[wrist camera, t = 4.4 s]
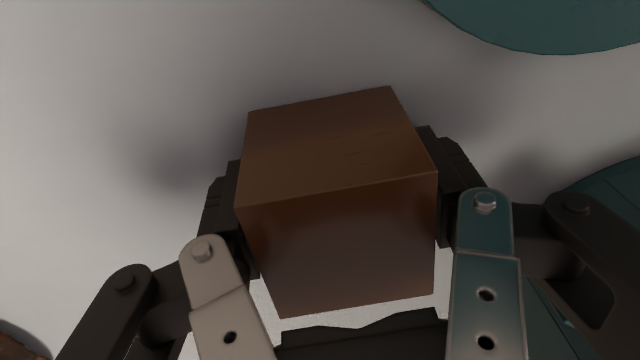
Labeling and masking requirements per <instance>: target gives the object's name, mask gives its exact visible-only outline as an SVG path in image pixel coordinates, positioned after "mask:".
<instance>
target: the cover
mask: <svg viewBox="0 0 640 360" xmlns="http://www.w3.org/2000/svg"><path fill="white" fill-rule="evenodd" d="M424 2H425V3H426V4H427V5H428V6H430V7H431V8H432V9H433V10H435V11H436V12H437V13H439V14H440V15H441V16H443V17H444V18H445V19H447V20H448V21H449V22H451V23H452V24H453V25H455V26H456V27H457V28H459V29H461V30H463V31H465V32H467V33H469V34H471V35H473V36H475V37H477V38H479V39H480V40H482V41H484V42H487V43H491V44H494V45H497V46H500V47H503V48H506V49H509V50H513V51H519V52H526V53H532V54H539V55H576V54H584V53H592V52H600V51H606V50H610V49H614V48H619V47H623V46H627V45H631V44H635V43H639V42H640V0H424Z"/></svg>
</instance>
